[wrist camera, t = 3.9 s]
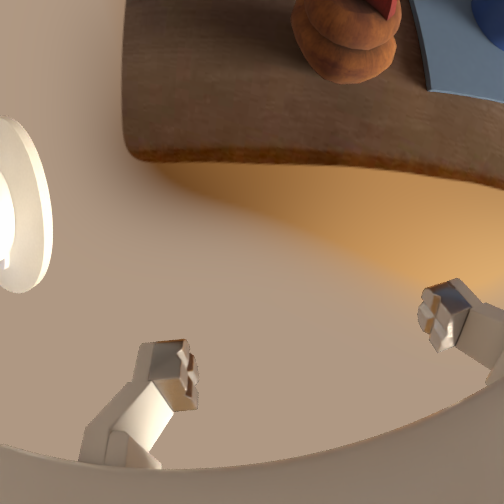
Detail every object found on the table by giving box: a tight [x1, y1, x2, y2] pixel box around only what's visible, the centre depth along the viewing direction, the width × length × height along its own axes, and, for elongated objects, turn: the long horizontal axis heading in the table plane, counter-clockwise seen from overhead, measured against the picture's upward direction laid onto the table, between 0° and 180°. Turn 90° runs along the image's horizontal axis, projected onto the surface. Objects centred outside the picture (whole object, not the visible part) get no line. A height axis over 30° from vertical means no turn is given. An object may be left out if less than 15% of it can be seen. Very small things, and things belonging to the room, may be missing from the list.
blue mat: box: [409, 0, 504, 103], centre depth 14 cm, size 16×14×1 cm
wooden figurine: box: [291, 0, 402, 84], centre depth 12 cm, size 7×6×15 cm
